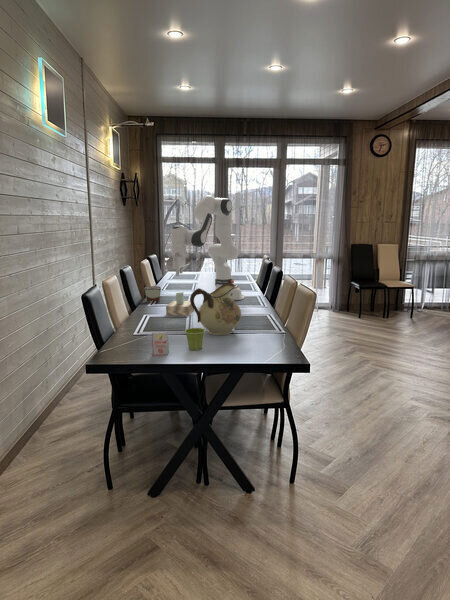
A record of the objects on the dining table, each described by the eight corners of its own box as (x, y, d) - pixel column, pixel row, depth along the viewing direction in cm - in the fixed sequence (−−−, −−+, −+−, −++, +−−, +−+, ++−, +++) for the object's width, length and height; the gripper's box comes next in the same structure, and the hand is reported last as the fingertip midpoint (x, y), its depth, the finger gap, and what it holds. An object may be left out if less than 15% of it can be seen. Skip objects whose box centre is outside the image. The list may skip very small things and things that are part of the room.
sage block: (183, 302, 266) (183, 291, 264) (182, 304, 262) (182, 293, 260) (177, 302, 266) (177, 291, 264) (176, 304, 262) (176, 293, 261)
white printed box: (154, 352, 190) (153, 331, 188) (168, 352, 190) (168, 331, 188) (152, 355, 187) (151, 334, 184) (167, 355, 187) (167, 333, 184)
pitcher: (248, 329, 226) (248, 283, 221) (228, 341, 206) (227, 291, 200) (212, 324, 236) (211, 280, 231) (189, 335, 216) (187, 288, 211)
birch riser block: (194, 310, 272) (194, 301, 271) (188, 316, 256) (188, 306, 255) (173, 309, 274) (172, 300, 273) (166, 315, 258) (166, 306, 257)
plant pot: (181, 350, 193) (180, 332, 191) (191, 344, 202) (190, 326, 200) (199, 352, 189) (199, 334, 188) (208, 346, 198) (208, 329, 196)
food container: (163, 299, 301) (163, 286, 299) (161, 301, 295) (161, 287, 293) (147, 299, 302) (146, 285, 300) (144, 301, 297) (143, 287, 294)
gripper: (180, 253, 247) (180, 277, 250) (187, 250, 266) (187, 272, 269) (169, 253, 247) (170, 277, 250) (177, 250, 267) (178, 272, 270)
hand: (179, 274), depth 260 cm, fingers open, 8 cm apart
